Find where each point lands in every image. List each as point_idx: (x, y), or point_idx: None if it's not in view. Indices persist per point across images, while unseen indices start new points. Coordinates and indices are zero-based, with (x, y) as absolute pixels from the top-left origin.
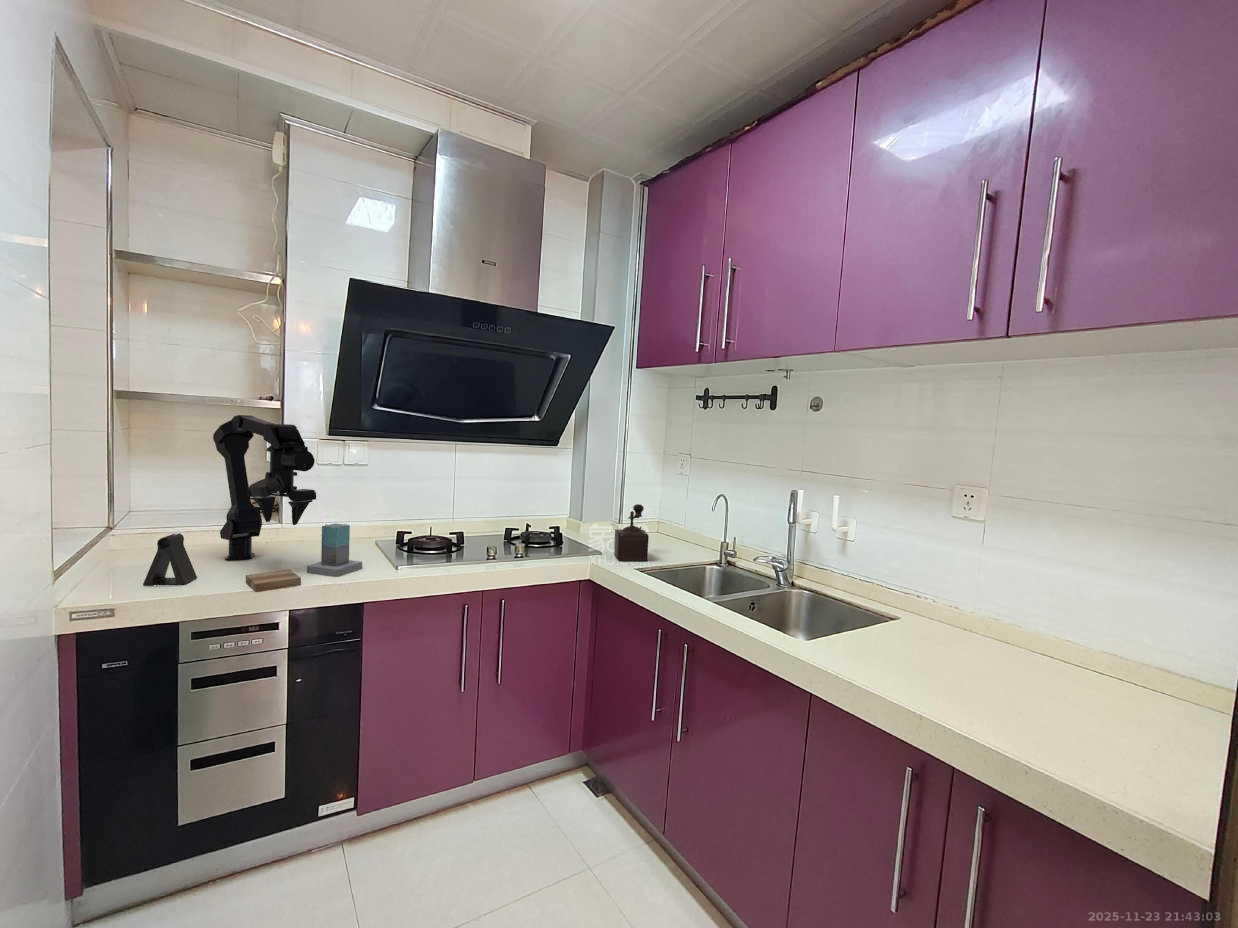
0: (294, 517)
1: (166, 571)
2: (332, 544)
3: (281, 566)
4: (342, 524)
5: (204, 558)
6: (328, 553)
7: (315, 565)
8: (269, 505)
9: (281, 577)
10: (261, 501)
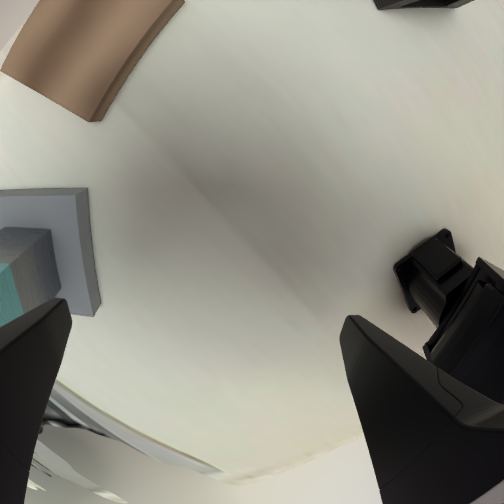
0: (4, 326)
1: (453, 1)
2: None
3: (236, 226)
4: None
5: (490, 231)
6: (2, 247)
7: (55, 211)
8: (399, 454)
9: (45, 34)
10: (488, 443)
